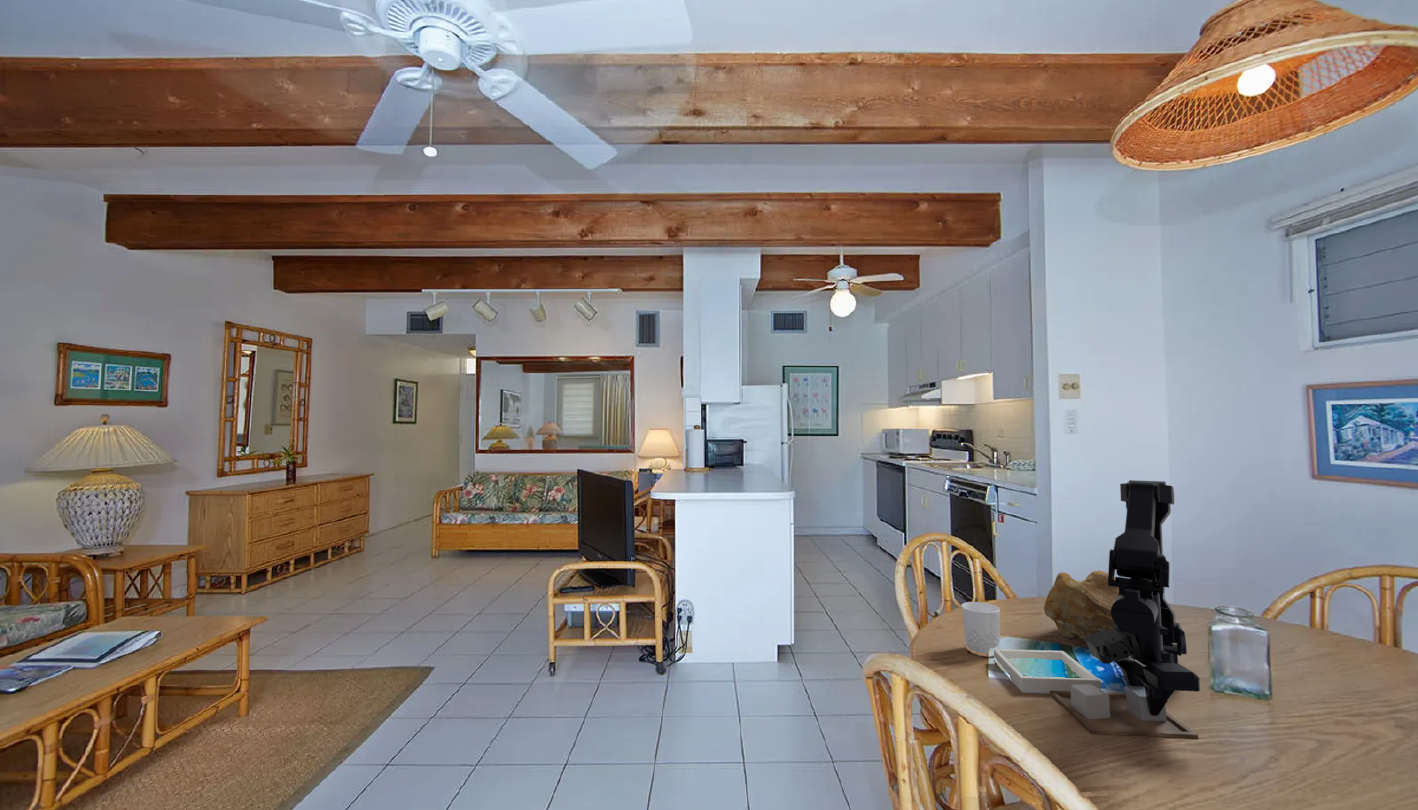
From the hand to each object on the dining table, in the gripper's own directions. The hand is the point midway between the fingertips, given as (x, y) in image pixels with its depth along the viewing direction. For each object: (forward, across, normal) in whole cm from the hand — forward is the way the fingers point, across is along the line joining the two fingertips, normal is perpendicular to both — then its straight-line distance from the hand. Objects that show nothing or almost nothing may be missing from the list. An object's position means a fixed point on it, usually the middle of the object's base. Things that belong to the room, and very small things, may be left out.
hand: (1145, 708), depth 97 cm
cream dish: (+2, -14, -10) cm, 18 cm away
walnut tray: (+2, 0, -4) cm, 5 cm away
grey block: (+1, 0, 0) cm, 1 cm away
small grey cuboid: (+1, 0, -9) cm, 9 cm away
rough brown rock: (+2, -38, +12) cm, 40 cm away
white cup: (+2, -28, -18) cm, 33 cm away
